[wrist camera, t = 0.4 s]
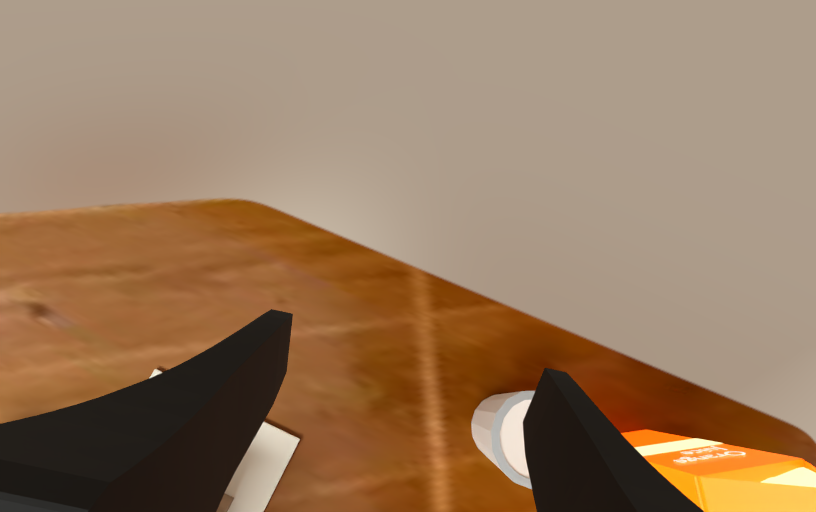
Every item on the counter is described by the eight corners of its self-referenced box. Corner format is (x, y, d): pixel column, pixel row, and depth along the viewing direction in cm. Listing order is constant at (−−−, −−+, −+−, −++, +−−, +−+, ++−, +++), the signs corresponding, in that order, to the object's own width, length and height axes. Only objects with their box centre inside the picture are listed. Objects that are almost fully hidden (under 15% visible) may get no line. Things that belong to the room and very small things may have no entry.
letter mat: (190, 656, 32) (188, 659, 32) (24, 579, 32) (21, 581, 31) (300, 438, 37) (299, 439, 36) (156, 369, 36) (154, 369, 36)
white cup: (455, 397, 40) (480, 402, 33) (526, 378, 41) (563, 380, 34) (475, 479, 38) (506, 502, 31) (547, 456, 40) (591, 474, 33)
